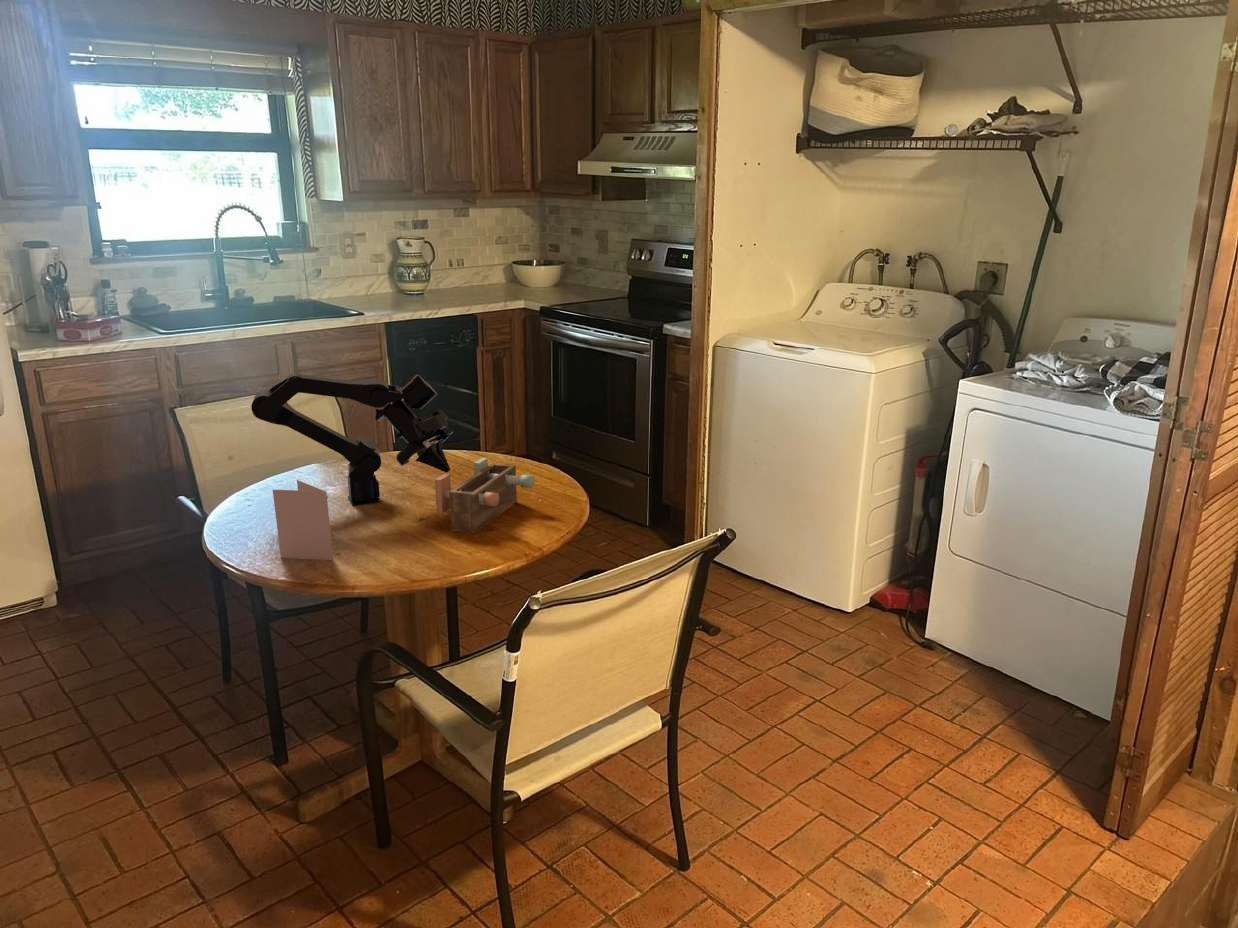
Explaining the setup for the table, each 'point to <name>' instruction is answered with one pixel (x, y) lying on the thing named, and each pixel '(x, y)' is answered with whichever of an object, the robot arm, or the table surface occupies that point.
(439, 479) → the pink block with rod
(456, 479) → the table surface
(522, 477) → the sage button
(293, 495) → the greeting card
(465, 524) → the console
